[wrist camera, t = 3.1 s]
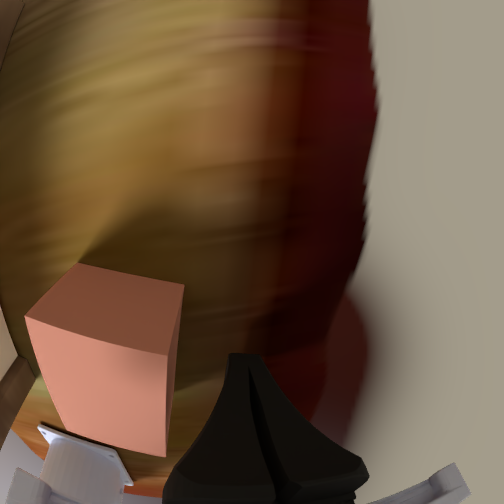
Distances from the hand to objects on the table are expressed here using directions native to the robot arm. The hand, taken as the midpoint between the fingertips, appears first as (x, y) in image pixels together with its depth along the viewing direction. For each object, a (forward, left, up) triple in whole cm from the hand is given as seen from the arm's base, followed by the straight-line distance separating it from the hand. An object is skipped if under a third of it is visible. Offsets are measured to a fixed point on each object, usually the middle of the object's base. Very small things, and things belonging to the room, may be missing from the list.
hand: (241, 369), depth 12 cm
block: (0, +5, -1) cm, 6 cm away
